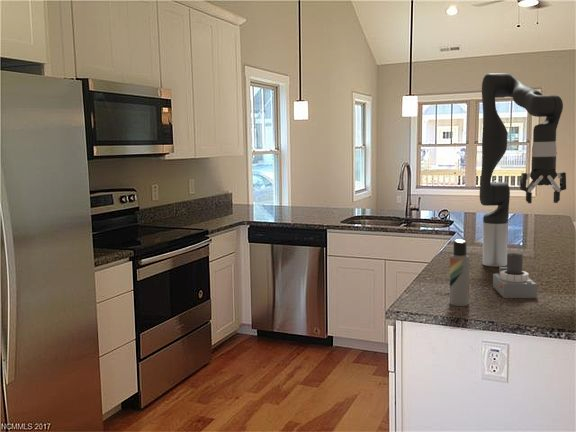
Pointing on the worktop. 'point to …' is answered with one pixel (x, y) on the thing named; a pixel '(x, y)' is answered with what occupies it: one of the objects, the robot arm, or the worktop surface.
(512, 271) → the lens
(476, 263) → the worktop surface
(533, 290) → the camera body
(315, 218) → the worktop surface
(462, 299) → the lotion bottle
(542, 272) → the worktop surface
